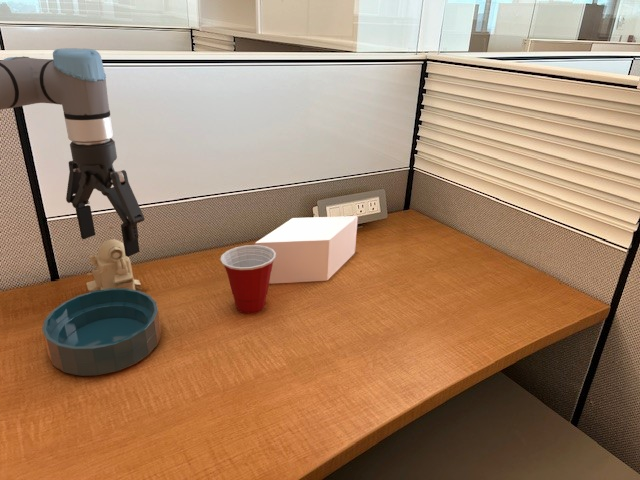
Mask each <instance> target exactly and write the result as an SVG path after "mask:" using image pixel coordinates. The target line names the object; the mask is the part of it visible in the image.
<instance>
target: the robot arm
mask: <svg viewBox="0 0 640 480" xmlns="http://www.w3.org/2000/svg"><path fill="white" fill-rule="evenodd" d="M106 75H107V74H106V73H105V68H104V64H103V60H102V55H101V54H100V52H98V51H97V50H96V49H94V48H77V47H70V48H69V47H68V48H67V47H66V48H65V47H64V48H56V49H54V50H53V52H52V59H47V58H46V59H45V58H36V57H30V56H24V55H23V56H11V57H7V58H6V57H5V58H4V59H3V60H0V111H1V110H6V109H12V108H14V109H15V108H19V107H25V106H30V105H35V104H52V105H53V104H54V105H60V106H62V110H63V116H64V122H65V128H66V133H67V139H68V140H69V141H71V142H70V144H69V148H70V153H71V158H72V159H71V160H70V161H68V171H69V174H68V182H67V189H66V195H65V200H66V202H67V203H68V204H72V207H73V208H74V209H75V214H76V218H77V222H78V227H79V233H80V237H81V239H82V240H86V239H89V238H92V237H94V236H96V230H95V225H94V219H93V214H92V213H93V212H92V207H91V205H89V204H90V201H89V200H90V198H91V196H92V194H93V191H94V190H97V191H98V192H100V193H101V195H103V197H106V198H107V199H108V201H109V202H110V205H111V206H112V207H113V209H114V211H115V212H116V214H117V215H118V217H119V219H120V220H121V221H122V224H120V230H121V236H122V241H123V242H122V243H123V244H124V249H125V255H126V256H127V257H128V258H129V257H131V256H133V255H136V254H138V253H140V244H139V229H138V224H139V223H143V222H144V221H145V215H144V213H143V212H142V209H141V207H140V204H139V202H138V201H137V198H136V196H135V193H134V192H133V191H134V190H133V189H132V187H131V185H130V181H129V178H128V174H127V171H126V170H125V169H122V170H119V171H116V170H115V168H114V162H115V161H116V160H117V158H118V155H117V154H118V153H117V148H116V141H115V140H114V139H113V138H114V131H113V124H112V118H111V111H110V106H109V105H110V104H109V96H108V88H107V87H108V86H107V79H106V78H107V77H106Z"/></svg>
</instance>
